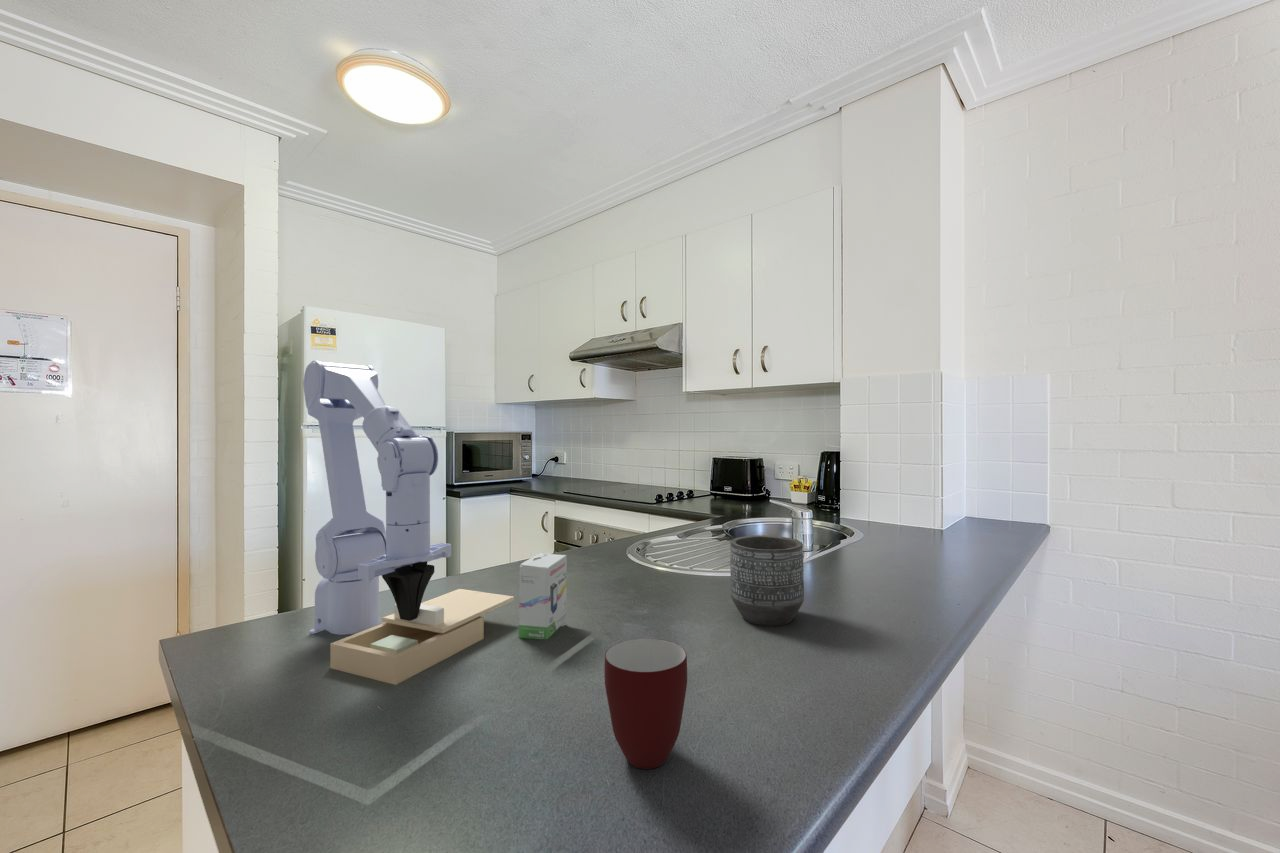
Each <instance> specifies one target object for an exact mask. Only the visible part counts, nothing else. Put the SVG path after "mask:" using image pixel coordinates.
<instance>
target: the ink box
mask: <svg viewBox="0 0 1280 853" xmlns="http://www.w3.org/2000/svg"><path fill="white" fill-rule="evenodd" d="M567 556H568V555H567V554H555V553H554V554H553V553H545V552H544V553H543V552H540V553H538V554H536V555H534V556H532V557H530V558H529V559H527V560H525V561H523V562H521V563H520V565H519V583H518V584H519V585H518V587H519V588H518V590H519V591H518V596H519V597H518V638H520V639H531V640H548V639H550V637H551V636H552V635H553V634H554V633H555V632H556V631H557V630H558V629H560V627H564V626H565V625H566V624H567V596H568V595H567V594H568V593H567V578H568V577H567V576H568V574H567V573H568V571H567V569H568V567H567V566H568V563H567V562H568V557H567Z"/></svg>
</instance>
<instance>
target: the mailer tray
mask: <svg viewBox="0 0 1280 853" xmlns="http://www.w3.org/2000/svg"><path fill="white" fill-rule="evenodd" d="M484 627H485V626H484V616H479V617H477V618H475V619H473V620H470V621H468V622H466V623H464V624H462V625H460V626H457V627H455V628H453V629H451V630H449V631H447V632H445V633H438V632H433V631H428V630H423V629H417V628H412V627H407V626H402V625H397V624H392V623H386V622H383V623H379V624H378V625H377V626H374V627H372V628H369V629H367V630H364V631H361V632H359V633H354V634H350V635H349V636H346V637H344V638H341V639H338V640H336V641H334V642H331V643H330V644H329V645H330V650H329V651H330V655H329V656H330V658H329V659H330V666H329V667H330V669H333V670H336V671H341V672H343V673H349V674H352V675H355V676H360V677H364V678H368V679H371V680H375V681H379V682H383V683H387V684H391V685H395V686H397V685H399V684H400V683H402V682H404V681H407V680H408V679H410V678H411V677H412V678H413V677H414V676H417V674H419V673H422V672H423V671H425V670H426V669H429V668H431V667H433V666H435V665H436V664H439V663H440V662H442V661H444V660H446V659H447V658H450V657H451V656H453V655H456V654H457V653H459V652H461V651H463V650H465V649H466V648H468V647H471V646H472V645H474V644H476V643H478V642H480V641H482V640H484V637H485V636H484V635H485V634H484ZM390 635H395V636H399V637H404V638H409V639H414V640H418V644H417V645H415V646H413V647H411V648H409V649H406V650H404V651H402V652H400V653H398V654H394V653H389V652H385V651H380V650H376V649H371V648H370V644H371V643H374V642H376V641H379V640H381V639H383V638H386V637H388V636H390Z"/></svg>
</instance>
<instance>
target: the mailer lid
mask: <svg viewBox="0 0 1280 853" xmlns="http://www.w3.org/2000/svg"><path fill="white" fill-rule="evenodd" d="M513 601H515V596H512V595H507V594H500V593H499V594H498V593H491V592H485V591H479V590H470V589H463V588H457V589H454V590H452V591H450V592H447V593H444V594H442V595H439V596H436V597H433V598H432V599H428V600H426V601H423V602H421V605H420V609H419V613H418V617H417V618H416V619H414V620H411V621H407V620H402V619H400V616H399V612H398V608H397V605H396V603H395V604H394V606H393V610H394V611H393V613H391V614H389V615H386V616H384V617H382V622H383V623H385V622H386V623H392V624H397V625H402V626H407V627H412V628H417V629H423V630H428V631H433V632H438V633H445V632H447V631H449V630H451V629H453V628H455V627H457V626H460V625H462V624H464V623H466V622H468V621H470V620H473V619H475V618H477V617H479V616H480V617H482V616H483V615H485V614H487V613H490V612H492V611H494V610H496V609H498V608H500V607H502V606H505V605H507V604H509V603H511V602H513Z"/></svg>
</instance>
